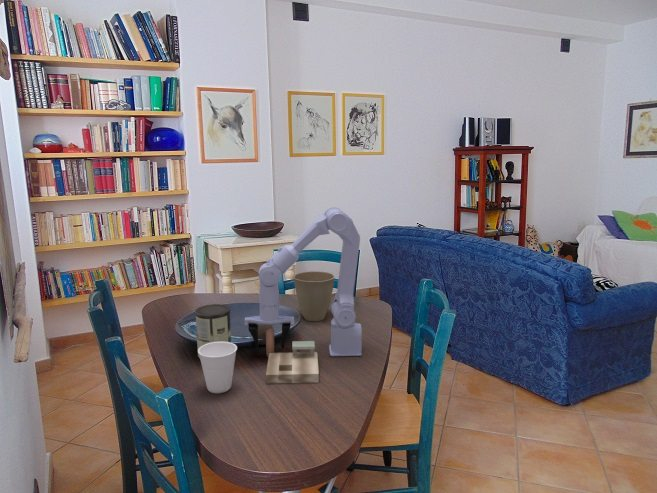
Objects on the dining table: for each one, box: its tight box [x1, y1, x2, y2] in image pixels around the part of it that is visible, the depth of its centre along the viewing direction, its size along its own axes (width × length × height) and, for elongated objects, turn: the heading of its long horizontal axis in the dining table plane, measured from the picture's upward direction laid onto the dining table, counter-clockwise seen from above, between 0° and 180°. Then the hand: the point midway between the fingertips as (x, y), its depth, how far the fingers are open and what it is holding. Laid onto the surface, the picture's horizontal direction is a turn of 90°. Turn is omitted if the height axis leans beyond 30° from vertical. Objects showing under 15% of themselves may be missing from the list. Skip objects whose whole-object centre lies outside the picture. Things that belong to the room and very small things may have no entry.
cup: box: [197, 341, 238, 394], centre depth 127 cm, size 10×10×11 cm
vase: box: [258, 324, 274, 346], centre depth 157 cm, size 7×7×9 cm
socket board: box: [265, 351, 320, 385], centre depth 138 cm, size 14×14×2 cm
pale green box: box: [291, 340, 316, 356], centre depth 142 cm, size 6×4×6 cm, turn 93°
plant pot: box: [293, 270, 336, 322], centre depth 179 cm, size 15×15×16 cm
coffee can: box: [194, 303, 232, 359], centre depth 148 cm, size 10×10×14 cm
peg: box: [265, 328, 275, 358], centre depth 147 cm, size 2×2×8 cm
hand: (270, 347), depth 148 cm, fingers open, 7 cm apart
